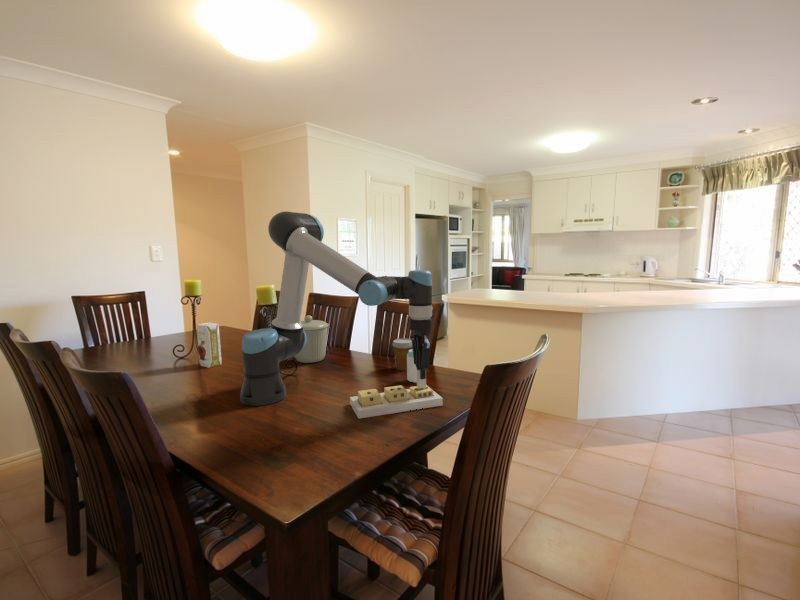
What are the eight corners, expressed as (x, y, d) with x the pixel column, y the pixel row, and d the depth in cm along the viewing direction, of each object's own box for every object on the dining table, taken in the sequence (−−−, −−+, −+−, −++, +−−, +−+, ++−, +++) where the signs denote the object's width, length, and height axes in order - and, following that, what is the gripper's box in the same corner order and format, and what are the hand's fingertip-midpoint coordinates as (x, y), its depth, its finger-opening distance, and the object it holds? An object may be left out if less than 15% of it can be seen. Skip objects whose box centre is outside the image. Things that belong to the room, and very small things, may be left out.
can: (424, 384, 151) (423, 353, 150) (405, 383, 153) (405, 352, 151) (426, 378, 158) (426, 348, 156) (409, 377, 159) (408, 347, 158)
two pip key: (390, 404, 128) (390, 393, 127) (384, 397, 133) (384, 387, 133) (407, 401, 129) (407, 390, 129) (401, 395, 135) (401, 384, 135)
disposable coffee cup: (419, 367, 173) (418, 339, 171) (407, 373, 165) (407, 344, 163) (400, 363, 178) (400, 337, 177) (388, 369, 170) (387, 341, 169)
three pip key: (416, 403, 131) (416, 392, 130) (409, 396, 136) (409, 386, 136) (433, 400, 132) (433, 390, 132) (426, 394, 138) (426, 384, 138)
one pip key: (362, 408, 125) (362, 397, 124) (358, 401, 130) (357, 390, 130) (381, 405, 127) (380, 394, 126) (375, 398, 132) (375, 388, 132)
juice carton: (213, 361, 186) (210, 321, 184) (224, 364, 181) (221, 323, 179) (197, 365, 180) (194, 324, 178) (207, 368, 175) (204, 326, 173)
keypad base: (358, 418, 122) (358, 410, 121) (350, 404, 133) (349, 397, 132) (442, 405, 131) (442, 398, 130) (428, 393, 142) (428, 386, 142)
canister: (293, 356, 194) (291, 313, 191) (331, 354, 196) (329, 311, 193) (287, 366, 176) (284, 319, 174) (328, 365, 178) (327, 318, 175)
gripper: (439, 320, 126) (440, 392, 129) (423, 314, 138) (424, 380, 141) (417, 322, 124) (418, 395, 127) (403, 315, 136) (404, 382, 139)
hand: (421, 387), depth 134 cm, fingers closed
